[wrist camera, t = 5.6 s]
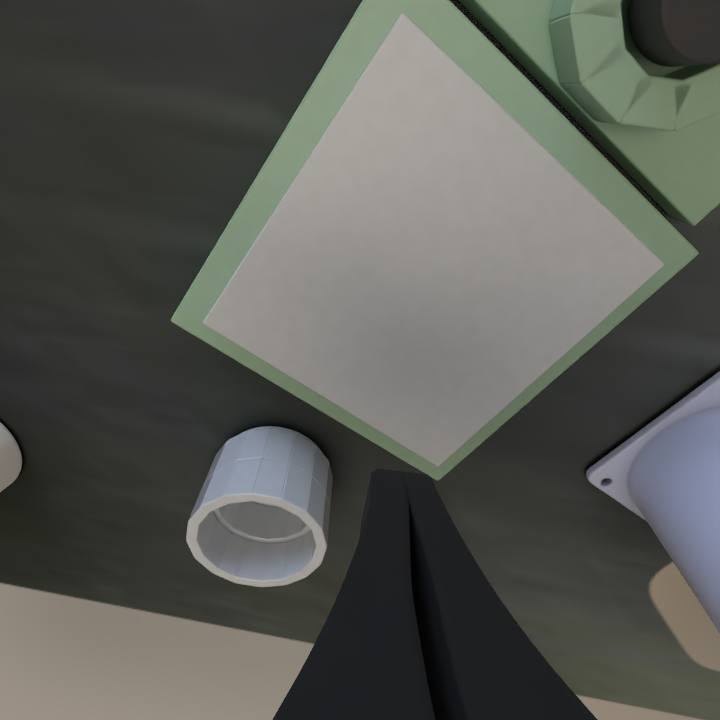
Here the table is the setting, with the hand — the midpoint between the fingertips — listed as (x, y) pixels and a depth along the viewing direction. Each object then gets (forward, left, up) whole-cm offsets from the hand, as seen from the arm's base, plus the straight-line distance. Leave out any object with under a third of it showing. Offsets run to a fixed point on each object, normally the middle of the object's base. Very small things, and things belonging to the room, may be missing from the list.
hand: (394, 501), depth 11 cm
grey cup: (0, +9, -9) cm, 13 cm away
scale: (+1, -3, -9) cm, 10 cm away
